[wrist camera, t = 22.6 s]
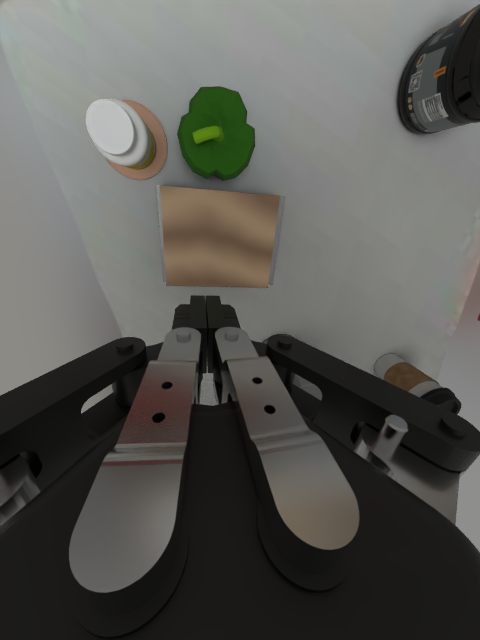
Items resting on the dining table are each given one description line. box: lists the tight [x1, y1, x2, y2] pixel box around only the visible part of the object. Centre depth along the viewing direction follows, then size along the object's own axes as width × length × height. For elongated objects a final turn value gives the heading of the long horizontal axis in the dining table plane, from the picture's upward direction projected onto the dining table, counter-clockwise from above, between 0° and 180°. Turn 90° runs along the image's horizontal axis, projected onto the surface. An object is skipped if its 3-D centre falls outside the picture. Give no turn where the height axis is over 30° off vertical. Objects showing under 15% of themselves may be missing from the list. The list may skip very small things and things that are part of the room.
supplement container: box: [399, 4, 480, 134], centre depth 27 cm, size 10×10×12 cm
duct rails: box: [156, 185, 285, 285], centre depth 35 cm, size 12×16×5 cm
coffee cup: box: [374, 353, 461, 415], centre depth 50 cm, size 8×8×15 cm
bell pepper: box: [177, 87, 255, 180], centre depth 27 cm, size 8×8×10 cm
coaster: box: [106, 100, 167, 180], centre depth 30 cm, size 8×8×1 cm
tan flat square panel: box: [160, 185, 280, 288], centre depth 32 cm, size 12×14×1 cm
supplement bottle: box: [86, 99, 156, 170], centre depth 26 cm, size 5×5×10 cm
